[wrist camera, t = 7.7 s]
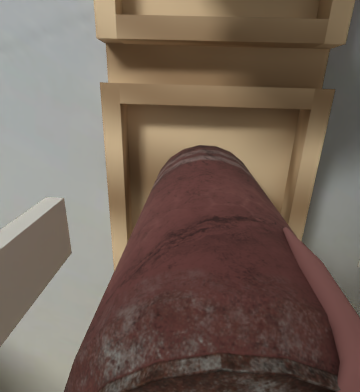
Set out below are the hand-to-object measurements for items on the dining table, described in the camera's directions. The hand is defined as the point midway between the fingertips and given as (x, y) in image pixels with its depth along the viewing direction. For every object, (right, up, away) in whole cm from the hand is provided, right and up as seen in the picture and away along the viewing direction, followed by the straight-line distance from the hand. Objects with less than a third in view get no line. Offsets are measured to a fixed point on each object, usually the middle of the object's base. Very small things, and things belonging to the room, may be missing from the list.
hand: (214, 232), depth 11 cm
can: (0, +2, +6) cm, 6 cm away
